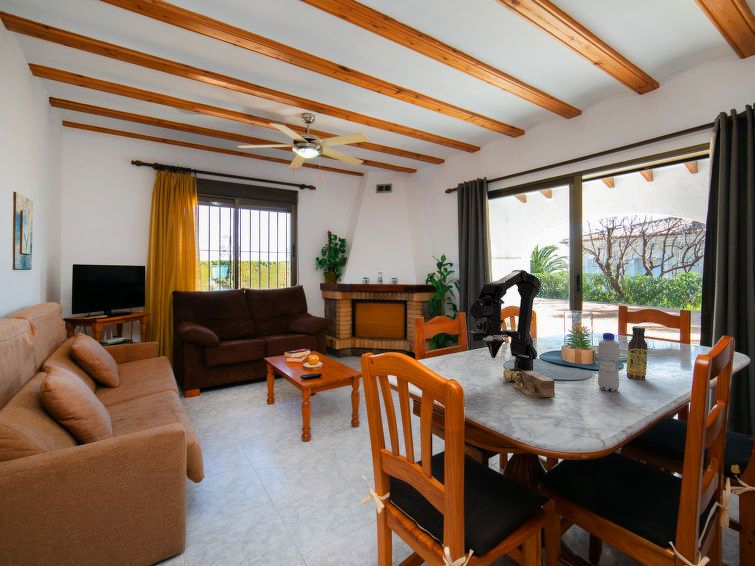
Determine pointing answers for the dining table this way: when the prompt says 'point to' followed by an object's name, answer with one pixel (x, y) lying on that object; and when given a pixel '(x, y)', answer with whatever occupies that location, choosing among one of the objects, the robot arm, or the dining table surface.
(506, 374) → the brass bolt
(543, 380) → the walnut bar
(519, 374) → the keeper
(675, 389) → the dining table surface
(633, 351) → the sauce bottle
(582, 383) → the dining table surface
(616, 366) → the bottle
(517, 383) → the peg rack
